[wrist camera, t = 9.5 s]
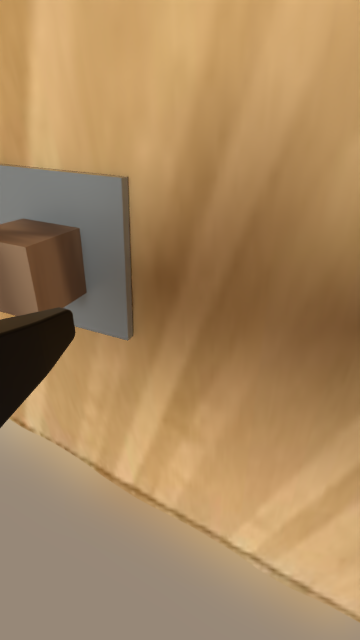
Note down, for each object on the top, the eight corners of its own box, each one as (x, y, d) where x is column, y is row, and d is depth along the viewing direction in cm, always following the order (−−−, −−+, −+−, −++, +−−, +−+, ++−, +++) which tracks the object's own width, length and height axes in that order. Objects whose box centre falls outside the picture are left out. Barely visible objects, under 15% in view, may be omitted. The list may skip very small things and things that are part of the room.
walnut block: (79, 227, 22) (25, 247, 18) (86, 292, 24) (40, 322, 20) (22, 218, 23) (-40, 234, 19) (35, 280, 26) (-18, 306, 22)
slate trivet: (127, 176, 20) (121, 177, 19) (132, 335, 26) (128, 340, 25) (-17, 162, 23) (-26, 162, 22) (18, 305, 29) (11, 309, 28)
